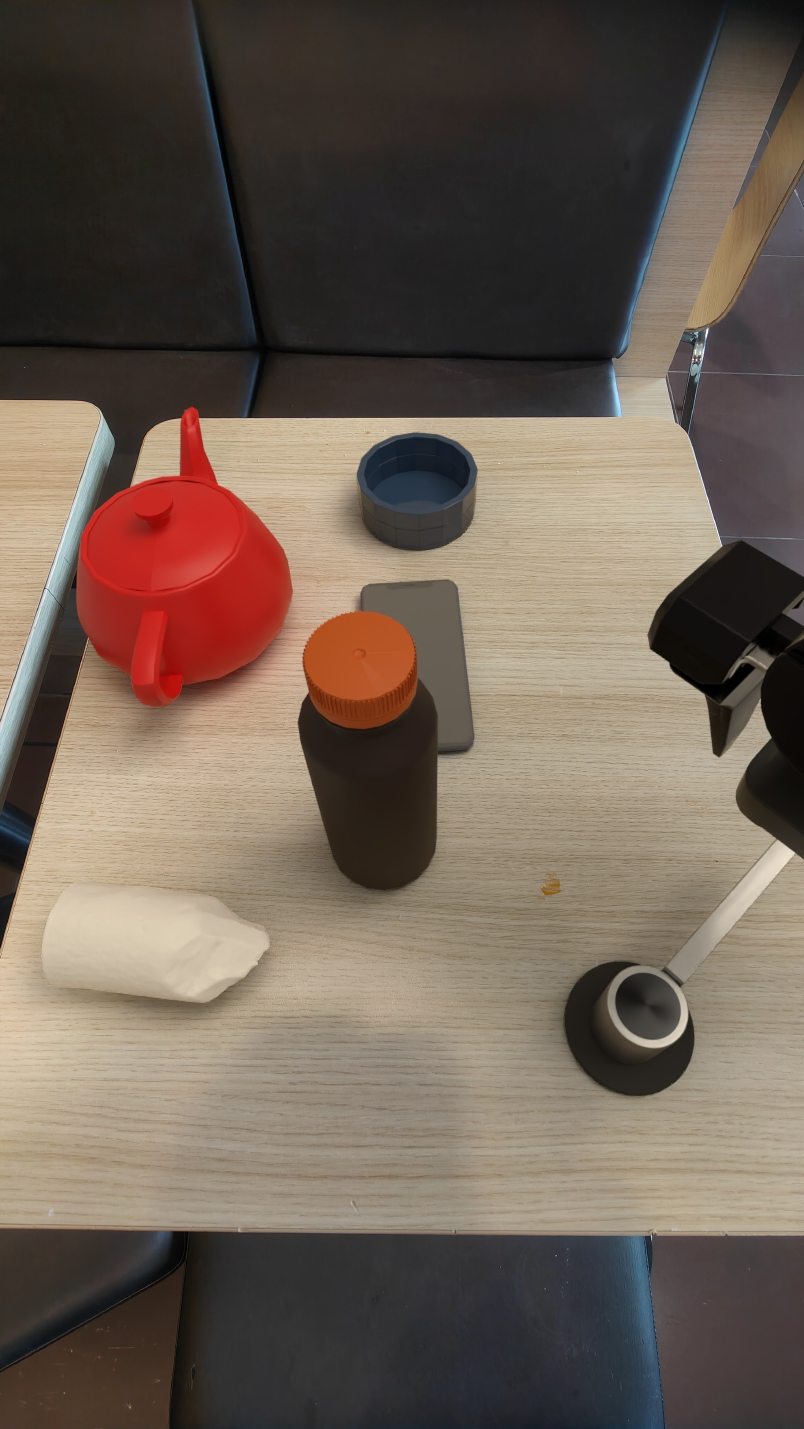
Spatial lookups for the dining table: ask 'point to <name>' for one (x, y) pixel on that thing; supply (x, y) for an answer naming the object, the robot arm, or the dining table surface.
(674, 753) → the dining table surface
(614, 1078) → the coaster
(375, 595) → the smartphone
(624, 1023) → the scoop
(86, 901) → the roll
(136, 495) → the teapot
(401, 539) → the bowl
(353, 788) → the bottle
